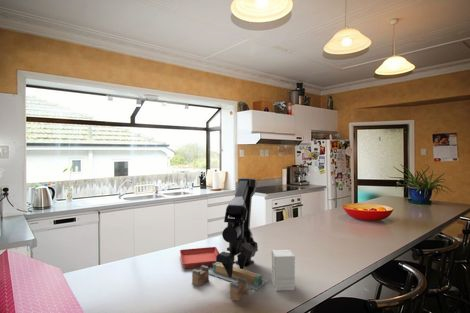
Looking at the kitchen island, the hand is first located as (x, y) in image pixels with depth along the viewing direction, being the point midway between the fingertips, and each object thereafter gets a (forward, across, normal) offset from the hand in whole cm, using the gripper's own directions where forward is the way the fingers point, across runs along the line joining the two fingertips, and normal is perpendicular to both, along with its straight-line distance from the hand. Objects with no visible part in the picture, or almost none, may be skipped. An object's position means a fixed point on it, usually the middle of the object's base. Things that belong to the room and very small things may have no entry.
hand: (236, 274), depth 109 cm
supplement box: (+2, +5, -18) cm, 19 cm away
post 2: (+2, -11, -9) cm, 14 cm away
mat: (+2, 0, 0) cm, 2 cm away
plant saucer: (+2, +5, +24) cm, 25 cm away
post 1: (+2, -11, +9) cm, 14 cm away
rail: (+1, 0, 0) cm, 1 cm away
